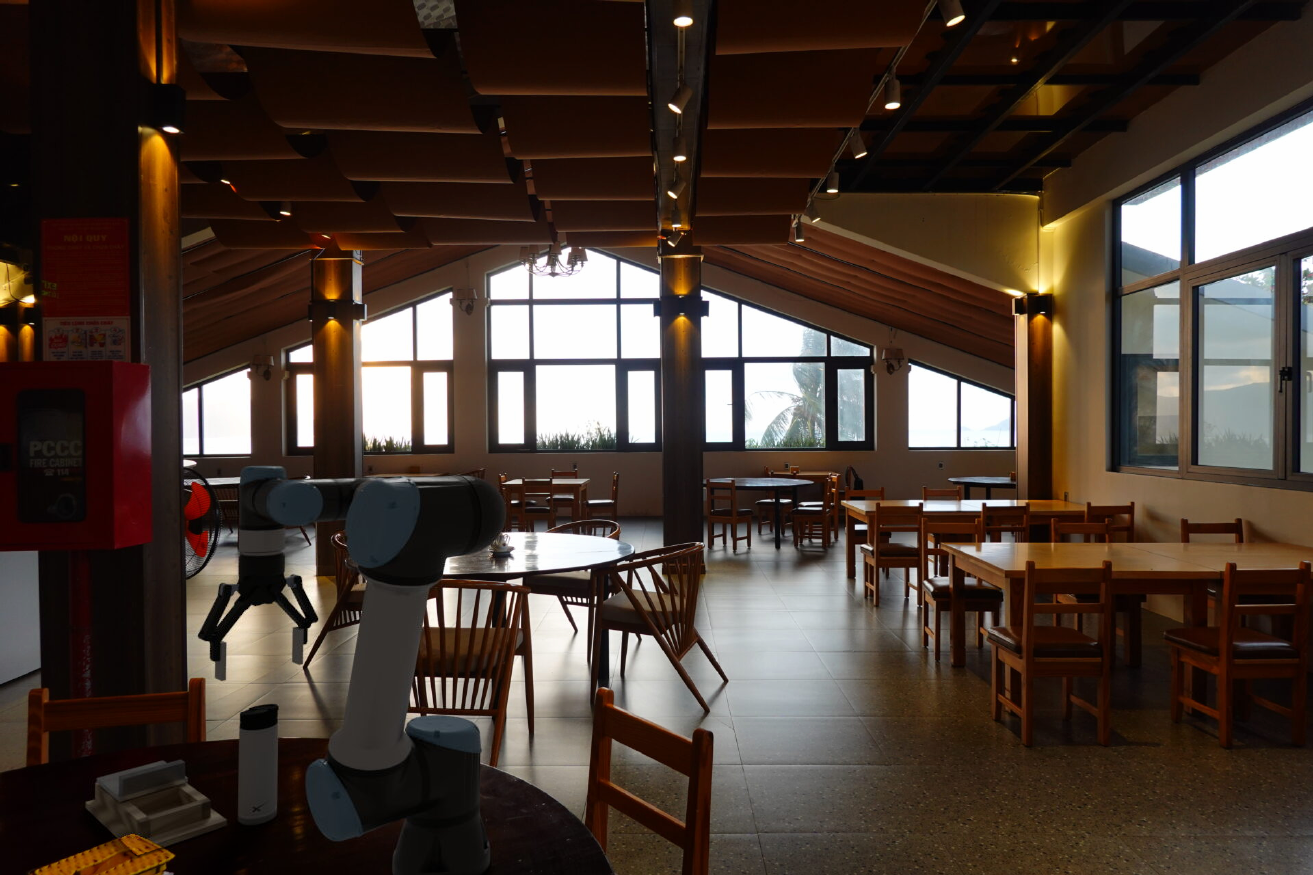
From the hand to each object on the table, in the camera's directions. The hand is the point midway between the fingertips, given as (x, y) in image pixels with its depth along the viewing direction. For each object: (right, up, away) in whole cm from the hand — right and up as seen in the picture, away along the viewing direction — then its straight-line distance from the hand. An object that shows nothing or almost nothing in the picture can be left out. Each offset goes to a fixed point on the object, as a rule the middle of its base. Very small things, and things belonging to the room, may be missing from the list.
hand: (260, 671), depth 147 cm
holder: (-19, -26, 0) cm, 32 cm away
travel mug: (0, -26, 0) cm, 26 cm away
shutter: (-23, -21, +4) cm, 32 cm away
